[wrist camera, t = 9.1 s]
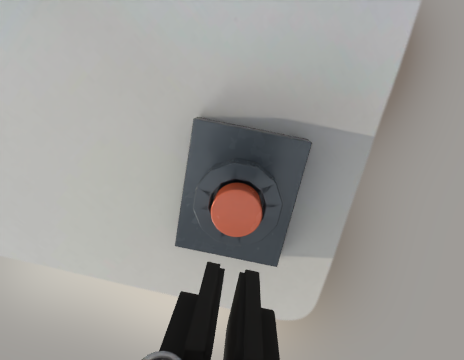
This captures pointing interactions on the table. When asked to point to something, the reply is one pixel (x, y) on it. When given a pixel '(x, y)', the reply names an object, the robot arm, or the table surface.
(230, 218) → the release button
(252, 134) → the box
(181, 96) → the table surface
